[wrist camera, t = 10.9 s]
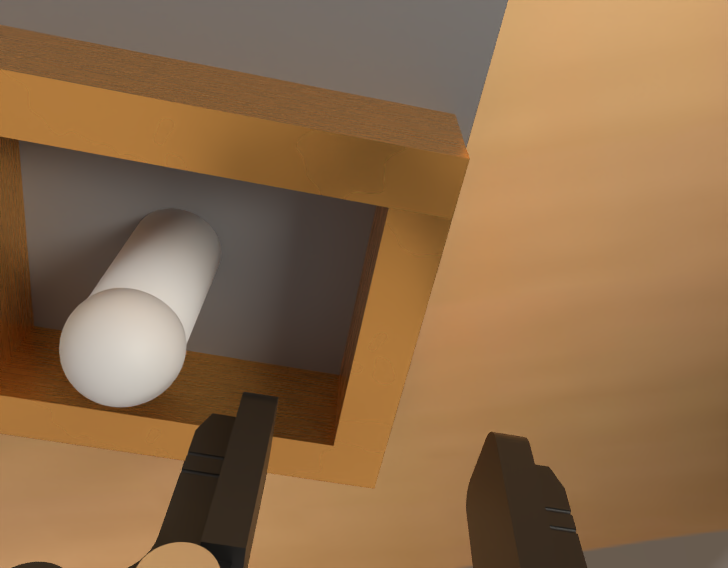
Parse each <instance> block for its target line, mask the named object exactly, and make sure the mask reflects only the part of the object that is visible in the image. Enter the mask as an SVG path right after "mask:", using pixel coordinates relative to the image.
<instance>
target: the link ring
mask: <svg viewBox="0 0 728 568" xmlns="http://www.w3.org/2000/svg"><path fill="white" fill-rule="evenodd" d="M19 140H22V141H28V142H33V143H39V144H44V145H50V146H55V147H61V148H66V149H71V150H77V151H82V152H88V153H93V154H99V155H104V156H110V157H115V158H121V159H126V160H132V161H137V162H142V163H148V164H153V165H159V166H164V167H170V168H175V169H181V170H186V171H192V172H197V173H202V174H208V175H213V176H219V177H224V178H230V179H235V180H241V181H246V182H252V183H257V184H263V185H268V186H273V187H279V188H284V189H290V190H295V191H301V192H306V193H312V194H317V195H323V196H328V197H333V198H339V199H344V200H350V201H355V202H361V203H366V204H372V205H377V206H376V210H375V215H374V219H373V224H372V228H371V233H370V237H369V242H368V246H367V251H366V255H365V260H364V265H363V269H362V274H361V278H360V283H359V287H358V292H357V296H356V301H355V305H354V310H353V314H352V319H351V323H350V328H349V333H348V337H347V342H346V346H345V351H344V355H343V360H342V364H341V369H340V373H339V375H336V374H329V373H323V372H317V371H311V370H305V369H298V368H292V367H286V366H280V365H273V364H267V363H261V362H255V361H249V360H242V359H236V358H230V357H224V356H218V355H211V354H205V353H199V352H193V351H187V350H186V355H185V360H184V363H183V366H182V369H181V371H180V372H179V374H178V376H177V378H176V379H175V380H174V382H173V383H172V384H171V386H170V387H169V388H168V389H166V390H165V391H164V392H163V393H162V394H160V395H159V396H157V397H156V398H154V399H152V400H150V401H148V402H146V403H143V404H140V405H136V406H132V407H110V406H105V405H102V404H99V403H96V402H94V401H92V400H90V399H88V398H86V397H85V396H83V395H82V394H81V393H79V392H78V391H77V390H76V389H75V388H74V387H73V385H72V384H71V383H70V382H69V380H68V379H67V377H66V375H65V373H64V371H63V368H62V365H61V361H60V354H59V343H60V337H61V333H62V330H56V329H50V328H44V327H37V326H34V319H33V307H32V295H31V283H30V271H29V259H28V247H27V235H26V223H25V211H24V199H23V187H22V175H21V163H20V151H19ZM468 163H469V156H468V153H467V149H466V146H465V143H464V140H463V137H462V134H461V131H460V127H459V124H458V121H457V118H456V115H455V114H452V113H446V112H441V111H436V110H431V109H426V108H421V107H416V106H411V105H406V104H401V103H396V102H391V101H385V100H380V99H375V98H370V97H365V96H360V95H355V94H350V93H345V92H340V91H335V90H330V89H324V88H319V87H314V86H309V85H304V84H299V83H294V82H289V81H284V80H279V79H274V78H269V77H263V76H258V75H253V74H248V73H243V72H238V71H233V70H228V69H223V68H218V67H213V66H208V65H202V64H197V63H192V62H187V61H182V60H177V59H172V58H167V57H162V56H157V55H152V54H147V53H141V52H136V51H131V50H126V49H121V48H116V47H111V46H106V45H101V44H96V43H91V42H85V41H80V40H75V39H70V38H65V37H60V36H55V35H50V34H45V33H40V32H35V31H30V30H24V29H19V28H14V27H9V26H4V25H0V434H7V435H14V436H21V437H28V438H34V439H41V440H48V441H55V442H62V443H68V444H75V445H82V446H89V447H95V448H102V449H109V450H116V451H123V452H129V453H136V454H143V455H150V456H157V457H163V458H170V459H177V460H184V461H185V459H186V456H187V454H188V450H189V447H190V444H191V441H192V439H193V436H194V433H195V430H196V429H197V428H198V427H199V426H200V425H201V424H202V423H203V422H204V421H205V420H206V419H207V418H208V417H209V416H210V415H211V414H212V413H214V414H221V415H227V416H233V417H236V415H237V411H238V408H239V404H240V401H241V397H242V394H243V392H249V393H255V394H261V395H268V396H274V397H279V399H278V406H277V413H276V419H275V426H274V432H273V439H272V445H271V452H270V458H269V464H268V469H267V473H272V474H279V475H285V476H292V477H299V478H306V479H313V480H319V481H326V482H333V483H340V484H347V485H353V486H360V487H367V488H375V484H376V481H377V477H378V474H379V470H380V467H381V463H382V460H383V456H384V453H385V449H386V446H387V443H388V439H389V436H390V432H391V429H392V425H393V422H394V418H395V415H396V411H397V408H398V405H399V401H400V398H401V394H402V391H403V387H404V384H405V380H406V377H407V373H408V370H409V367H410V363H411V360H412V356H413V353H414V349H415V346H416V342H417V339H418V335H419V332H420V328H421V325H422V322H423V318H424V315H425V311H426V308H427V304H428V301H429V297H430V294H431V290H432V287H433V284H434V280H435V277H436V273H437V270H438V266H439V263H440V259H441V256H442V252H443V249H444V245H445V242H446V239H447V235H448V232H449V228H450V225H451V221H452V218H453V214H454V211H455V207H456V204H457V201H458V197H459V194H460V190H461V187H462V183H463V180H464V176H465V173H466V169H467V166H468Z"/></svg>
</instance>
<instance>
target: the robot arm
mask: <svg viewBox="0 0 728 568" xmlns="http://www.w3.org/2000/svg"><path fill="white" fill-rule="evenodd" d="M278 399H279V397H274V396H268V395H261V394H255V393H249V392H243V394H242V397H241V401H240V404H239V408H238V411H237V415H236V417H233V416H227V415H221V414H214V413H212V414H211V415H210V416H209V417H208V418H207V419H206V420H205V421H204V422H203V423H202V424H201V425H200V426H199V427H198V428H197V429H196V430H195V433H194V436H193V439H192V441H191V444H190V447H189V450H188V454H187V456H186V459H185V461H184V464H183V467H182V471H181V473H180V476H179V479H178V481H177V484H176V487H175V490H174V493H173V496H172V499H171V501H170V504H169V507H168V510H167V513H166V516H165V519H164V522H163V524H162V527H161V530H160V533H159V536H158V538H157V540H156V543H155V544H154V546H153V547H152V549H151V550H150V551H149V552H148V553H147V555H146V556H144V557H143V558H142V559H141V560H140V561H138V562H137V563H135V564H134V565H132V566H130V567H128V568H248V563H249V558H250V553H251V548H252V543H253V538H254V533H255V528H256V524H257V519H258V514H259V509H260V504H261V499H262V494H263V489H264V485H265V480H266V474H267V469H268V464H269V458H270V452H271V445H272V439H273V432H274V426H275V419H276V413H277V406H278ZM466 512H467V521H468V529H469V537H470V545H471V554H472V562H473V568H587V565H586V562H585V558H584V555H583V551H582V548H581V544H580V541H579V537H578V534H576V527H575V523H574V520H573V516H572V515H571V514H570V512H571V509H570V506H569V502H568V499H567V495H566V492H565V488H564V487H563V486H562V484H561V483H560V481H559V480H558V479H557V477H556V476H555V474H554V473H553V472H552V470H551V469H550V468H549V467H547V466H540V465H535V464H534V460H533V456H532V451H531V447H530V444H529V441H528V439H527V438H525V437H520V436H514V435H507V434H501V433H495V432H490V433H489V434H488V436H487V438H486V440H485V443H484V445H483V448H482V451H481V453H480V456H479V458H478V461H477V464H476V466H475V469H474V472H473V474H472V477H471V479H470V482H469V486H468V491H467V500H466ZM13 568H61V567H60V566H58V565H55V564H52V563H47V562H30V563H25V564H21V565H18V566H15V567H13Z"/></svg>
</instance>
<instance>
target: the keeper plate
mask: <svg viewBox="0 0 728 568" xmlns="http://www.w3.org/2000/svg"><path fill="white" fill-rule="evenodd" d="M507 2H508V0H0V25H4V26H9V27H14V28H19V29H24V30H30V31H35V32H40V33H45V34H50V35H55V36H60V37H65V38H70V39H75V40H80V41H85V42H91V43H96V44H101V45H106V46H111V47H116V48H121V49H126V50H131V51H136V52H141V53H147V54H152V55H157V56H162V57H167V58H172V59H177V60H182V61H187V62H192V63H197V64H202V65H208V66H213V67H218V68H223V69H228V70H233V71H238V72H243V73H248V74H253V75H258V76H263V77H269V78H274V79H279V80H284V81H289V82H294V83H299V84H304V85H309V86H314V87H319V88H324V89H330V90H335V91H340V92H345V93H350V94H355V95H360V96H365V97H370V98H375V99H380V100H385V101H391V102H396V103H401V104H406V105H411V106H416V107H421V108H426V109H431V110H436V111H441V112H446V113H452V114H455V115H456V118H457V121H458V124H459V127H460V131H461V134H462V137H463V140H464V143H465V146H466V147H467V143H468V140H469V136H470V133H471V129H472V126H473V122H474V119H475V115H476V112H477V108H478V105H479V101H480V98H481V94H482V91H483V87H484V83H485V80H486V76H487V73H488V69H489V66H490V62H491V59H492V55H493V52H494V48H495V45H496V41H497V38H498V34H499V31H500V27H501V23H502V20H503V16H504V13H505V9H506V6H507ZM19 151H20V163H21V175H22V187H23V199H24V211H25V223H26V235H27V247H28V259H29V271H30V283H31V295H32V307H33V319H34V326H37V327H44V328H50V329H56V330H62V333H61V337H60V343H59V354H60V361H61V365H62V368H63V371H64V373H65V375H66V377H67V379H68V380H69V382H70V383H71V384H72V385H73V387H74V388H75V389H76V390H77V391H78V392H79V393H81V394H82V395H83V396H85V397H86V398H88V399H90V400H92V401H94V402H96V403H99V404H102V405H105V406H110V407H132V406H136V405H140V404H143V403H146V402H148V401H150V400H152V399H154V398H156V397H157V396H159V395H160V394H162V393H163V392H164V391H165V390H166V389H168V388H169V387H170V386H171V384H172V383H173V382H174V380H175V379H176V378H177V376H178V374H179V372H180V371H181V369H182V366H183V363H184V360H185V355H186V350H187V351H193V352H199V353H205V354H211V355H218V356H224V357H230V358H236V359H242V360H249V361H255V362H261V363H267V364H273V365H280V366H286V367H292V368H298V369H305V370H311V371H317V372H323V373H329V374H336V375H339V373H340V369H341V364H342V360H343V355H344V351H345V346H346V342H347V337H348V333H349V328H350V323H351V319H352V314H353V310H354V305H355V301H356V296H357V292H358V287H359V283H360V278H361V274H362V269H363V265H364V260H365V255H366V251H367V246H368V242H369V237H370V233H371V228H372V224H373V219H374V215H375V210H376V206H377V205H372V204H366V203H361V202H355V201H350V200H344V199H339V198H333V197H328V196H323V195H317V194H312V193H306V192H301V191H295V190H290V189H284V188H279V187H273V186H268V185H263V184H257V183H252V182H246V181H241V180H235V179H230V178H224V177H219V176H213V175H208V174H202V173H197V172H192V171H186V170H181V169H175V168H170V167H164V166H159V165H153V164H148V163H142V162H137V161H132V160H126V159H121V158H115V157H110V156H104V155H99V154H93V153H88V152H82V151H77V150H71V149H66V148H61V147H55V146H50V145H44V144H39V143H33V142H28V141H22V140H19Z"/></svg>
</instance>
